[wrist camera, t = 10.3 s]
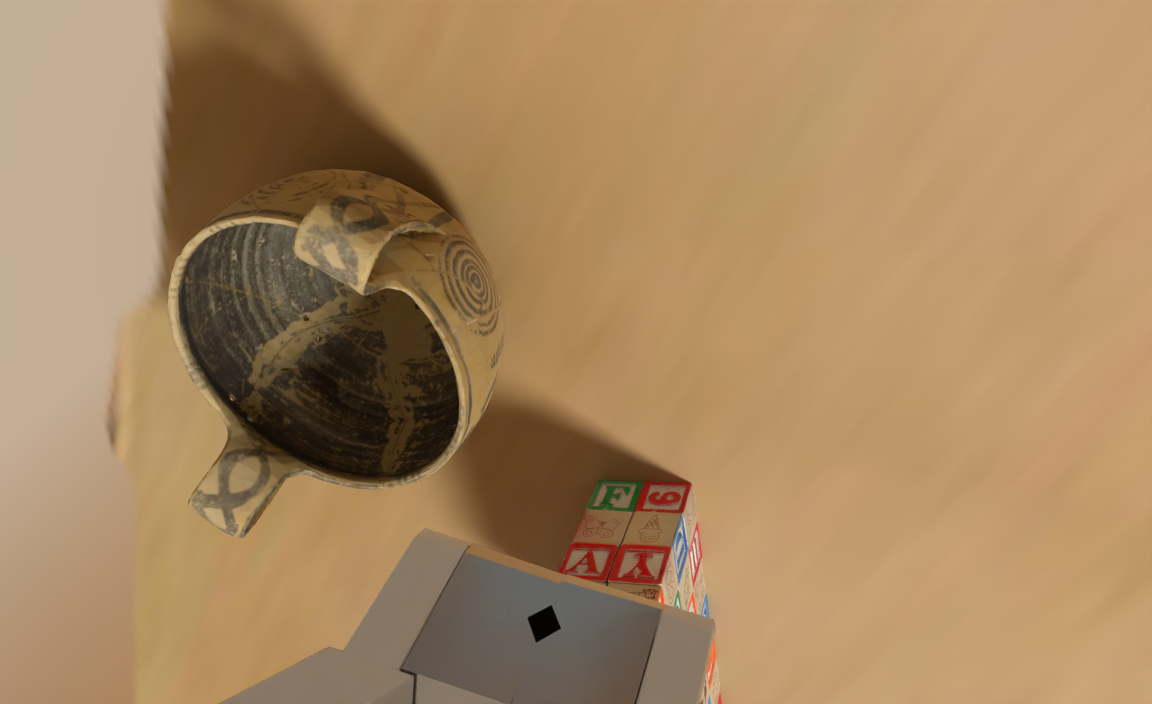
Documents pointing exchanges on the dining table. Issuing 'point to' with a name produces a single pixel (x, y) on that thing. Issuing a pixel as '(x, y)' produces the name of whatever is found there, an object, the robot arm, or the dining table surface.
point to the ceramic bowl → (333, 337)
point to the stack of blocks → (645, 550)
